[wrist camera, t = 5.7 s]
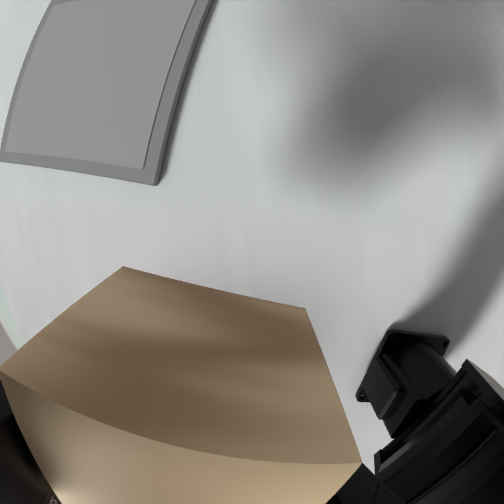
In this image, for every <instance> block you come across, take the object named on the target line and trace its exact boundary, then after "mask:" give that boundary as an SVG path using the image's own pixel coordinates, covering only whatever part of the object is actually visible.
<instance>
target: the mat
mask: <svg viewBox="0 0 504 504" xmlns="http://www.w3.org/2000/svg"><path fill="white" fill-rule="evenodd" d="M212 1H213V0H52V1H51V2H50V4H49V6H48V8H47V10H46V12H45V14H44V16H43V18H42V20H41V22H40V24H39V26H38V28H37V31H36V33H35V35H34V37H33V40H32V42H31V44H30V47H29V49H28V52H27V54H26V57H25V60H24V62H23V65H22V68H21V71H20V74H19V77H18V80H17V83H16V86H15V89H14V93H13V96H12V100H11V103H10V107H9V111H8V115H7V119H6V124H5V128H4V133H3V138H2V144H1V149H0V162H7V163H15V164H23V165H31V166H38V167H45V168H52V169H59V170H65V171H72V172H78V173H84V174H91V175H97V176H102V177H108V178H114V179H120V180H125V181H131V182H136V183H141V184H147V185H152V186H156V185H158V180H159V175H160V171H161V166H162V162H163V157H164V153H165V148H166V144H167V140H168V136H169V132H170V128H171V124H172V120H173V116H174V113H175V109H176V105H177V102H178V98H179V95H180V91H181V88H182V85H183V81H184V78H185V75H186V72H187V69H188V66H189V63H190V60H191V57H192V54H193V51H194V48H195V45H196V42H197V39H198V37H199V34H200V31H201V28H202V26H203V23H204V21H205V18H206V15H207V13H208V10H209V8H210V5H211V3H212Z"/></svg>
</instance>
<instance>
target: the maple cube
mask: <svg viewBox="0 0 504 504" xmlns="http://www.w3.org/2000/svg"><path fill="white" fill-rule="evenodd" d="M0 378H1V381H2V384H3V387H4V390H5V393H6V396H7V399H8V401H9V404H10V407H11V409H12V412H13V414H14V416H15V419H16V421H17V424H18V426H19V428H20V430H21V433H22V435H23V437H24V439H25V441H26V443H27V445H28V447H29V449H30V451H31V453H32V455H33V457H34V459H35V461H36V462H37V464H38V466H39V468H40V470H41V471H42V473H43V475H44V476H45V478H46V480H47V481H48V483H49V485H50V486H51V488H52V489H53V491H54V493H55V494H56V496H57V497H58V499H59V500H60V502H61V503H62V504H325V503H326V502H327V501H328V500H329V499H330V498H331V497H332V496H333V495H334V494H335V493H336V492H337V491H338V490H339V489H340V488H341V487H342V486H343V485H344V484H345V482H346V481H347V480H348V479H349V478H350V477H351V476H352V475H353V473H354V472H355V471H356V470H357V469H358V468H359V466H360V465H361V464H362V460H361V457H360V454H359V451H358V448H357V445H356V442H355V440H354V437H353V434H352V431H351V428H350V426H349V423H348V420H347V417H346V415H345V412H344V409H343V406H342V404H341V401H340V398H339V395H338V393H337V390H336V387H335V385H334V382H333V379H332V377H331V374H330V371H329V369H328V366H327V363H326V361H325V358H324V356H323V353H322V350H321V348H320V345H319V343H318V340H317V337H316V335H315V332H314V330H313V327H312V325H311V322H310V320H309V317H308V315H307V312H306V310H305V308H300V307H295V306H290V305H285V304H280V303H276V302H271V301H266V300H261V299H257V298H252V297H247V296H243V295H238V294H234V293H229V292H225V291H220V290H216V289H212V288H207V287H203V286H199V285H195V284H191V283H187V282H182V281H178V280H174V279H170V278H166V277H162V276H158V275H154V274H151V273H147V272H143V271H139V270H135V269H132V268H128V267H124V266H123V267H122V268H120V269H119V270H118V271H116V272H115V273H113V274H112V275H111V276H109V277H108V278H107V279H105V280H104V281H103V282H101V283H100V284H99V285H98V286H96V287H95V288H94V289H92V290H91V291H90V292H88V293H87V294H86V295H85V296H83V297H82V298H81V299H79V300H78V301H77V302H76V303H74V304H73V305H72V306H71V307H69V308H68V309H67V310H66V311H64V312H63V313H62V314H61V315H59V316H58V317H57V318H56V319H54V320H53V321H52V322H51V323H50V324H48V325H47V326H46V327H45V328H44V329H42V330H41V331H40V332H39V333H38V334H36V335H35V336H34V337H33V338H32V339H31V340H29V341H28V342H27V343H26V344H25V345H24V346H23V347H21V348H20V349H19V350H18V351H17V352H16V353H15V354H13V355H12V356H11V357H10V358H9V359H8V360H7V361H6V362H5V363H3V364H2V365H1V366H0Z"/></svg>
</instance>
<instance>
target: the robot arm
mask: <svg viewBox="0 0 504 504" xmlns="http://www.w3.org/2000/svg"><path fill="white" fill-rule="evenodd" d="M392 335H394V336H393V337H392V338H390V337H391V336H392ZM449 343H450V340H449V339H448V338H447V337H445V336H438V335H430V334H422V333H415V332H408V331H401V330H394V329H393V330H389V331H388V332H387V333H386V334H385V336H384V338H383V341H382V343H381V345H380V347H379V349H378V351H377V354H376V356H375V357H374V358H373V360H372V362H371V365H370V367H369V369H368V371H367V373H366V375H365V376H364V378H363V380H362V382H361V386H360V387H359V389H358V391H357V393H356V399H357V401H358V402H370V403H371V405H372V407H373V409H374V411H375V413H376V415H377V417H378V419H379V420H380V419H382V420H383V422H384V424H385V426H386V428H387V430H388V432H389V434H390V437H391V438H392V439H394V438H395V439H394V440H392V441H391V442H390V443H389V444H388V445H387V446H385V447H384V448H383V449H382V450H381V449H380V450H379V451H378V452H377V453H375V454H374V465H375V475H374V474H373V473H372V472H371V471H370V470H369V469H368V468H367V467H366V466H365V465H364V464H363V463H362V464H361V465H360V466H359V468H358V469H357V470H356V471H355V472H354V473H353V475H352V476H351V477H350V478H349V479H348V480H347V481H346V482H345V484H344V485H343V486H342V487H341V488H340V489H339V490H338V491H337V492H336V493H335V494H334V495H333V496H332V497H331V498H330V499H329V500H328V501H327V502H326V503H325V504H504V388H503V387H502V386H501V385H500V384H499V383H497V382H496V381H495V380H494V379H493V378H492V377H491V376H490V375H488V374H487V373H486V372H484V371H483V370H482V369H480V368H479V367H478V366H476V365H475V364H473V363H472V362H471V361H469V360H468V359H466V360H465V362H464V363H463V364H462V365H461V366H462V367H461V369H460V370H459V371H458V372H456V371H455V370H454V369H453V368H452V367H451V365H450V364H449V363H448V362H447V361H446V360H445V359H444V358H443V355H444V353H445V351H446V349H447V347H448V345H449ZM362 395H363V396H362ZM50 490H51V486H50V485H49V483H48V481H47V480H46V478H45V476H44V475H43V473H42V471H41V470H40V468H39V466H38V464H37V462H36V461H35V459H34V457H33V455H32V453H31V451H30V449H29V447H28V445H27V443H26V441H25V439H24V437H23V435H22V433H21V430H20V428H19V426H18V424H17V421H16V419H15V416H14V414H13V412H12V409H11V407H10V404H9V401H8V399H7V396H6V393H5V390H4V387H3V384H2V381H1V379H0V504H44V503H45V500H46V498H47V496H48V494H49V492H50Z"/></svg>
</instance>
